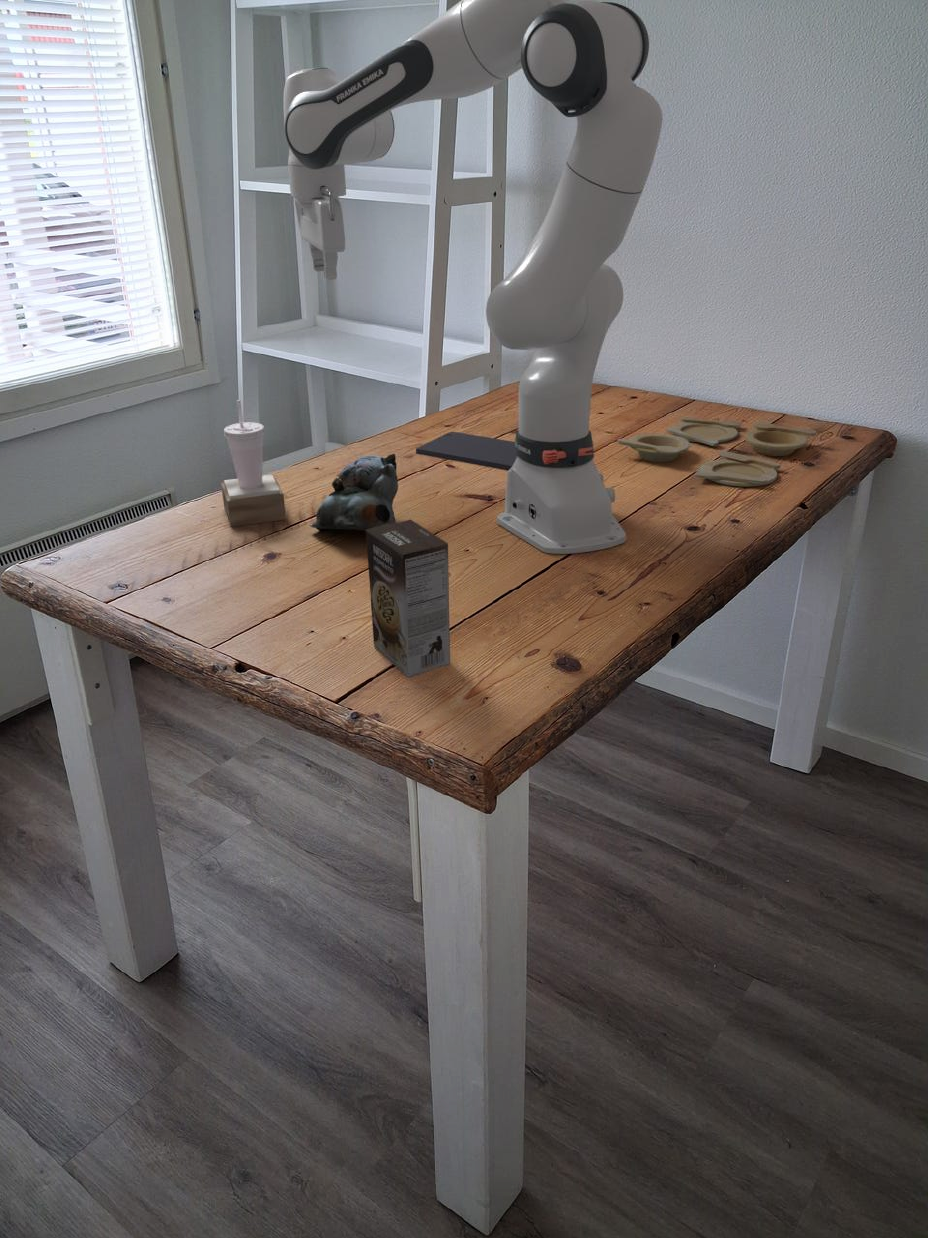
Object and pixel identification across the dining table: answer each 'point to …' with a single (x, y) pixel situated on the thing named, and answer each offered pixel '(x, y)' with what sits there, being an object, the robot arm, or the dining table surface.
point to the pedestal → (253, 502)
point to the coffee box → (409, 596)
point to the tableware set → (724, 470)
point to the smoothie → (246, 450)
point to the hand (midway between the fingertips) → (324, 274)
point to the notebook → (471, 450)
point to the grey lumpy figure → (361, 496)
